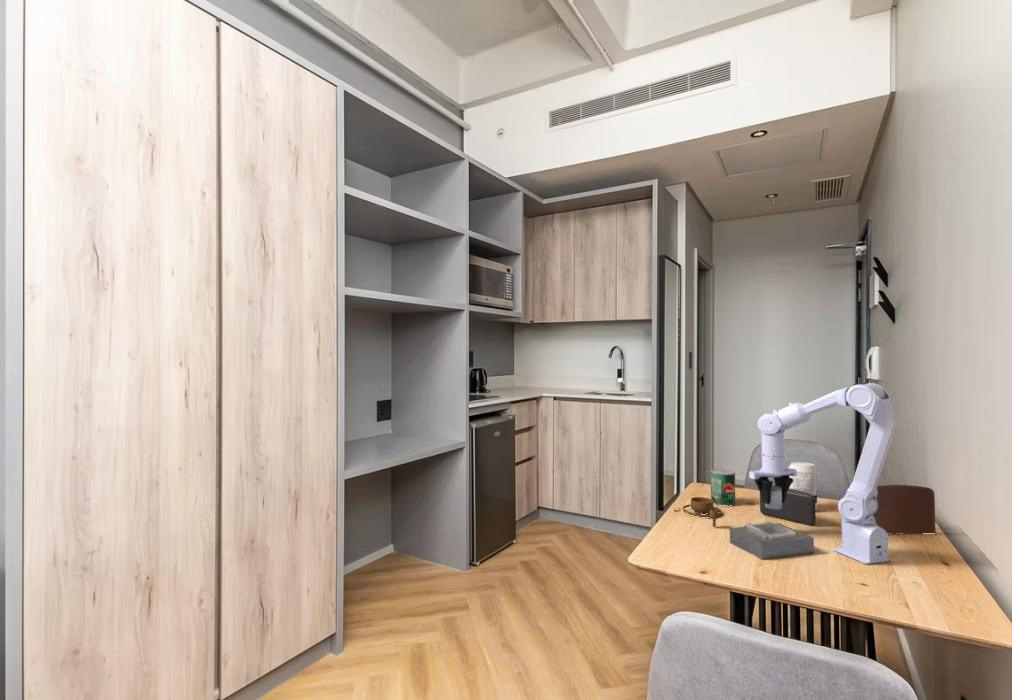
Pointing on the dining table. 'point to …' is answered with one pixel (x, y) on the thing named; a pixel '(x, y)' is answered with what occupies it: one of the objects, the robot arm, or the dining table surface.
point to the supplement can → (805, 478)
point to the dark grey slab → (794, 508)
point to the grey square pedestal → (771, 540)
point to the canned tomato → (723, 487)
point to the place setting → (703, 508)
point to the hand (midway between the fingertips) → (773, 502)
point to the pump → (775, 498)
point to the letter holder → (905, 509)
